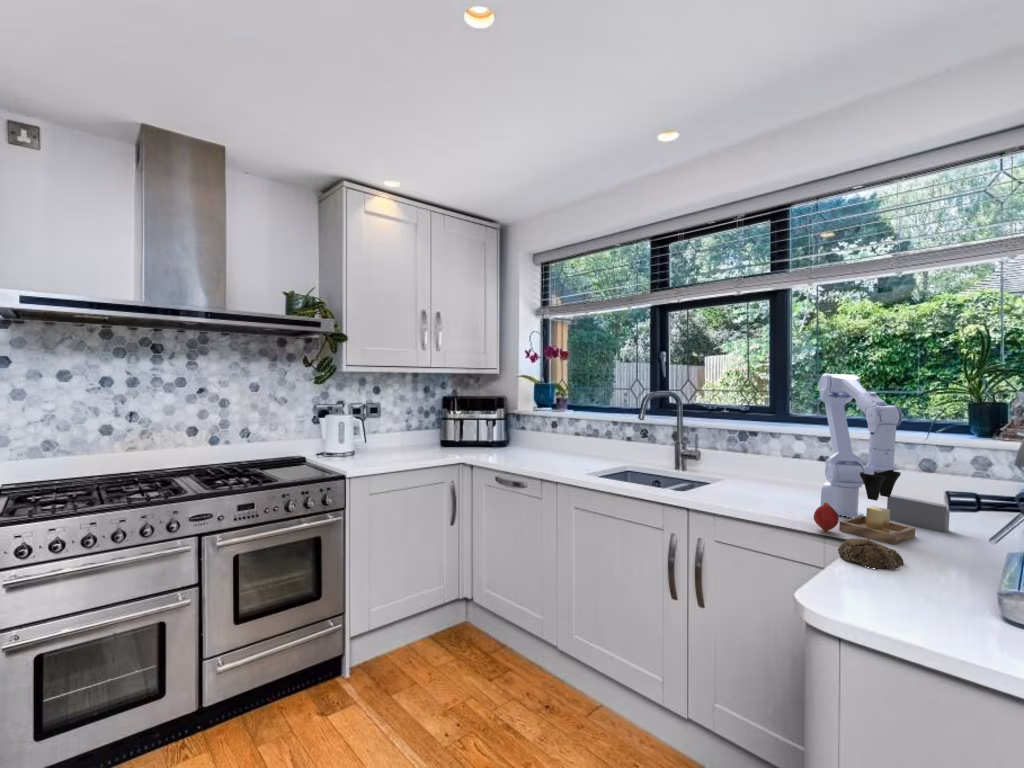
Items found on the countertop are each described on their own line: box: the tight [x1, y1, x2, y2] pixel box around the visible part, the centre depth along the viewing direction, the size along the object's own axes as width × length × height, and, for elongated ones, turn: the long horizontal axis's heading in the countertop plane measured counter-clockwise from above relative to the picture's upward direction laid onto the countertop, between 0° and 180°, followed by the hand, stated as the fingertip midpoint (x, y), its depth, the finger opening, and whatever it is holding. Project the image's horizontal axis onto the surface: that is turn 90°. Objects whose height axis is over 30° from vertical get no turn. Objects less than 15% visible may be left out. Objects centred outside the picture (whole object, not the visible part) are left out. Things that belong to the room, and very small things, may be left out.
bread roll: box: [837, 537, 905, 570], centre depth 119 cm, size 13×12×5 cm
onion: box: [813, 502, 840, 532], centre depth 140 cm, size 6×6×8 cm
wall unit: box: [886, 494, 951, 533], centre depth 149 cm, size 14×3×7 cm, turn 33°
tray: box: [838, 515, 916, 545], centre depth 139 cm, size 13×13×2 cm
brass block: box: [865, 505, 891, 532], centre depth 139 cm, size 4×4×6 cm
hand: (878, 497), depth 141 cm, fingers open, 7 cm apart
